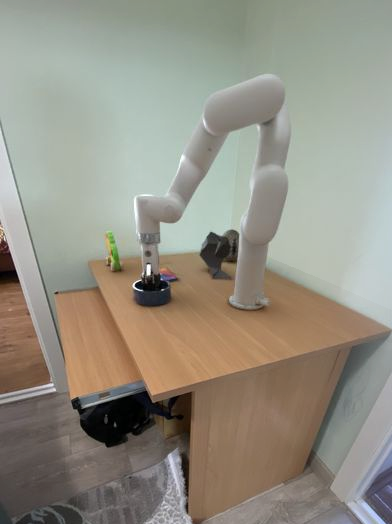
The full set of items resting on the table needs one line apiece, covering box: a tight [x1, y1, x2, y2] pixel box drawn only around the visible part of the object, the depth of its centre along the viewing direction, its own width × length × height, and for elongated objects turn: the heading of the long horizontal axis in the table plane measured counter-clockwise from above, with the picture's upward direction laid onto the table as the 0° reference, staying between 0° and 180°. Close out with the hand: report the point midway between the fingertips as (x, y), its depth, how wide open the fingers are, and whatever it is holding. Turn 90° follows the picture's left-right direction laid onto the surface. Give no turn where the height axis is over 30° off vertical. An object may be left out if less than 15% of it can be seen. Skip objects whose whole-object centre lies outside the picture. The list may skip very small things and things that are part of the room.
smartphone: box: [159, 266, 178, 282], centre depth 128 cm, size 7×15×1 cm, turn 23°
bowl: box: [132, 279, 172, 307], centre depth 106 cm, size 13×13×6 cm
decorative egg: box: [221, 228, 239, 262], centre depth 145 cm, size 12×12×15 cm
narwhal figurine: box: [199, 231, 233, 280], centre depth 128 cm, size 14×15×18 cm
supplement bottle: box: [140, 272, 162, 291], centre depth 104 cm, size 7×7×12 cm
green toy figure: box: [105, 231, 124, 272], centre depth 133 cm, size 16×5×15 cm, turn 25°
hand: (152, 289), depth 105 cm, fingers closed on supplement bottle, 6 cm apart
